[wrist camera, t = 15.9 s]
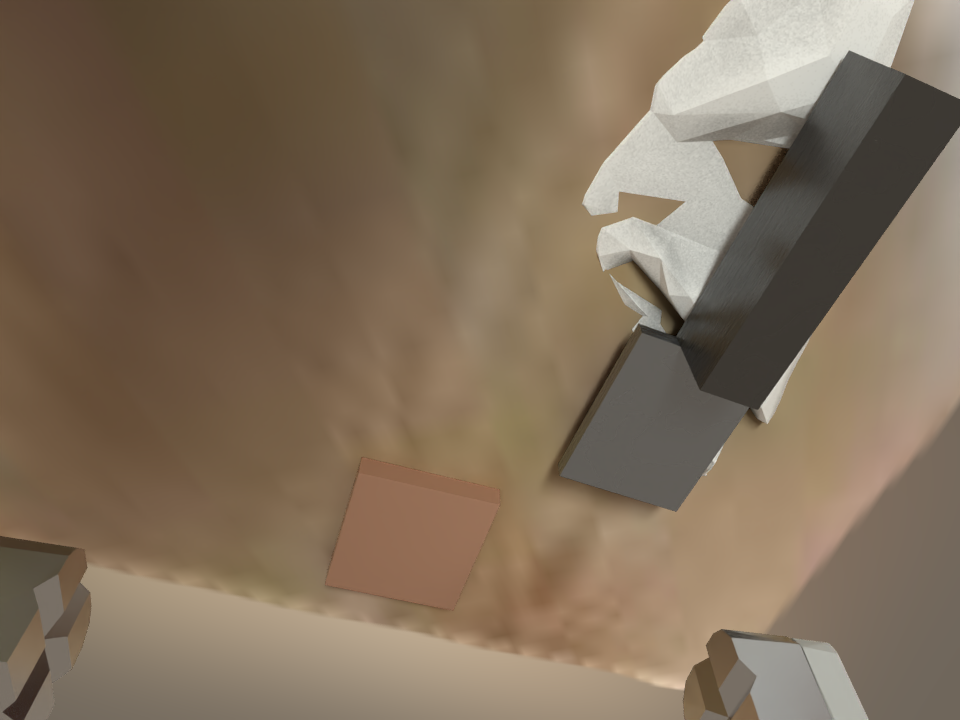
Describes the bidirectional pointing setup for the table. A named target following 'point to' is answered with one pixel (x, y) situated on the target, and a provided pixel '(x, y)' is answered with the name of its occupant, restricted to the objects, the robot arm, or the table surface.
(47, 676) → the robot arm
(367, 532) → the tile
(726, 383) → the turner
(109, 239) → the table surface
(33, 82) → the table surface
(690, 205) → the cloth
